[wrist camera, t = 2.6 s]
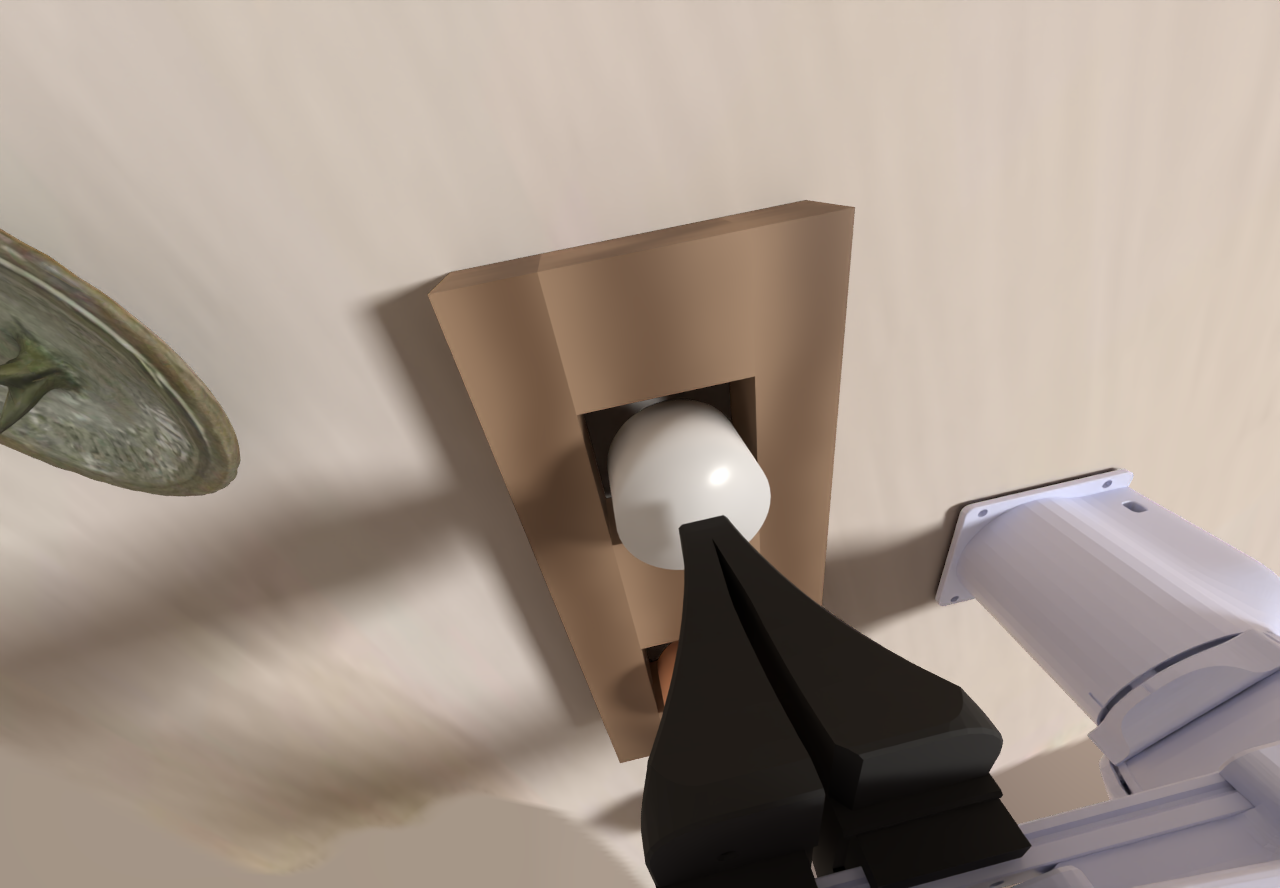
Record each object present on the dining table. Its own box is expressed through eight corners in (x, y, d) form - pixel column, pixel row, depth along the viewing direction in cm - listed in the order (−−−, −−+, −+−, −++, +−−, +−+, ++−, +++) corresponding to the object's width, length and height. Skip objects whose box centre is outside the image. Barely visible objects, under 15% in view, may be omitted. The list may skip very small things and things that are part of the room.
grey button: (735, 385, 16) (770, 429, 13) (741, 496, 18) (771, 551, 16) (593, 416, 16) (600, 467, 13) (620, 523, 18) (630, 583, 16)
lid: (346, 356, 16) (267, 427, 12) (202, 522, 18) (95, 629, 14) (-85, 52, 11) (-503, -21, 6) (-201, 338, 13) (-558, 419, 9)
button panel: (805, 200, 15) (855, 207, 13) (791, 669, 30) (812, 715, 28) (450, 272, 15) (427, 294, 12) (615, 712, 30) (620, 763, 27)
